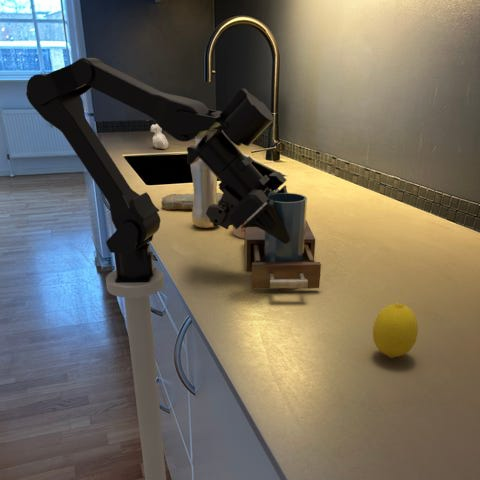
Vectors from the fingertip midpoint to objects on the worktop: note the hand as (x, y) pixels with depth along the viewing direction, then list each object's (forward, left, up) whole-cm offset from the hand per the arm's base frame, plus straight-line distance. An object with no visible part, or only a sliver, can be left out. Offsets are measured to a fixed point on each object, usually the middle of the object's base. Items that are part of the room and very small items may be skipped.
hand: (292, 235), depth 87 cm
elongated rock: (-11, +52, -9) cm, 54 cm away
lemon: (+11, -26, -9) cm, 30 cm away
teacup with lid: (-4, +29, -9) cm, 31 cm away
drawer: (-1, 0, -8) cm, 8 cm away
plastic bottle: (-16, +34, -9) cm, 39 cm away
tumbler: (-1, 0, -7) cm, 7 cm away
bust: (-41, +153, -9) cm, 159 cm away
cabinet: (-1, +13, -9) cm, 16 cm away
